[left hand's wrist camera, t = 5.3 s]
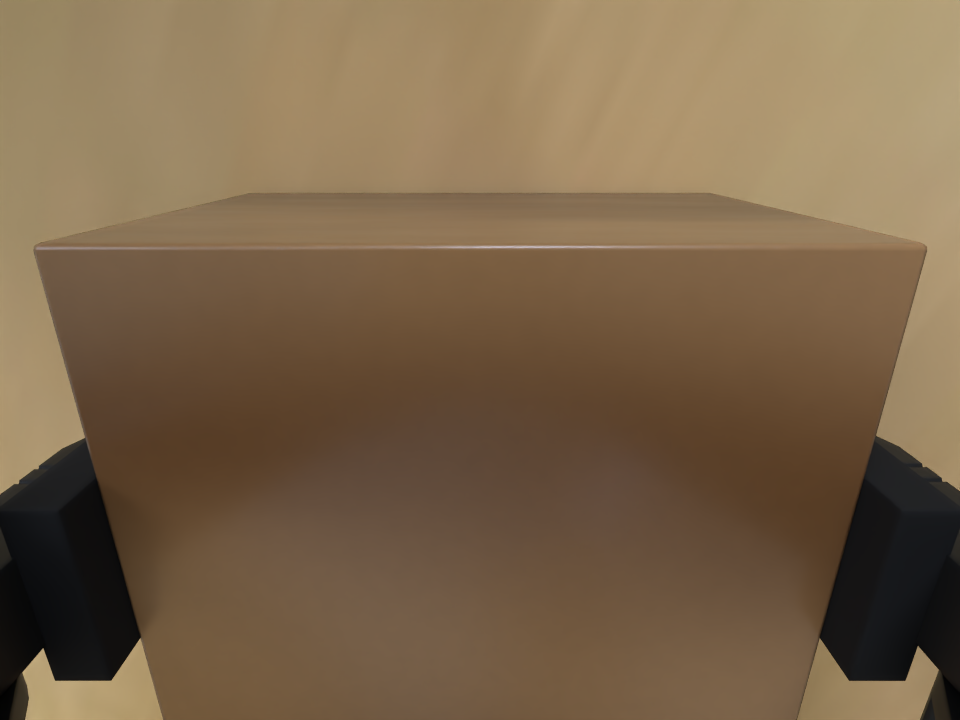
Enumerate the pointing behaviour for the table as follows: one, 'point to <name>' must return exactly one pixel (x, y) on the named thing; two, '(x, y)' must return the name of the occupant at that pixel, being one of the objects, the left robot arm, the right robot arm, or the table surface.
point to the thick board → (480, 447)
